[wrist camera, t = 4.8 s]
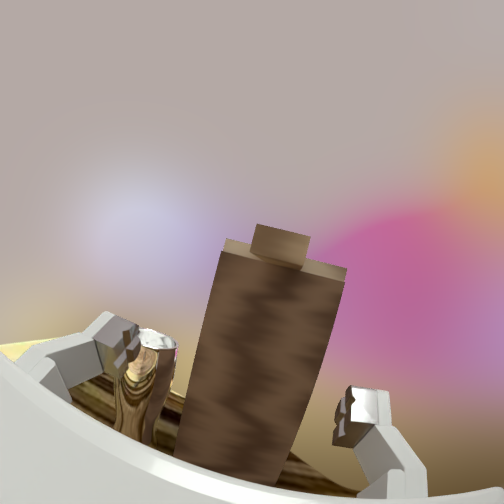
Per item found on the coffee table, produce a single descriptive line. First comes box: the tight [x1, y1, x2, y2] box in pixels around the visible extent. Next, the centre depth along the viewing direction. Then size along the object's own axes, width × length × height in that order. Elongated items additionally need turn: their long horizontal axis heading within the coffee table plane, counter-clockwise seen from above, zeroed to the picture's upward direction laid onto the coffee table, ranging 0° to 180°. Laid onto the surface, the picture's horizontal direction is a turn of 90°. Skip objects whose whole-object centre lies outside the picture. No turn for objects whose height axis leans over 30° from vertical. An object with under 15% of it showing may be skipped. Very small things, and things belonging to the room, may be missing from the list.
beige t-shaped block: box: [223, 224, 347, 282], centre depth 26 cm, size 11×21×2 cm, turn 172°
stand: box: [173, 251, 345, 487], centre depth 31 cm, size 11×12×26 cm
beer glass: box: [113, 327, 179, 449], centre depth 30 cm, size 7×7×15 cm
